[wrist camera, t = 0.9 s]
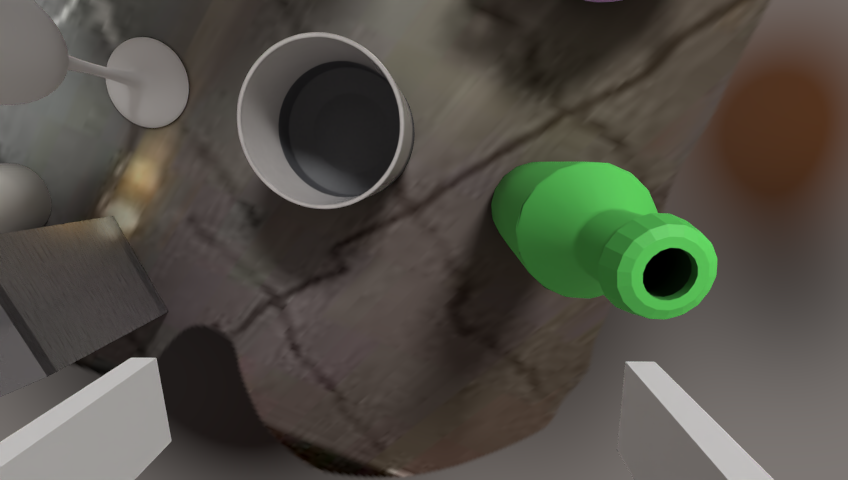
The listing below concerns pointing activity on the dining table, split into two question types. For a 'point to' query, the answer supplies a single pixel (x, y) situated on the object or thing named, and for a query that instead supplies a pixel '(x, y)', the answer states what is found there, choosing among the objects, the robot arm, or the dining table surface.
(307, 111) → the planter
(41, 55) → the wineglass
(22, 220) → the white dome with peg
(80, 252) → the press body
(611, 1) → the teapot
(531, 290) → the dining table surface
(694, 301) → the bottle
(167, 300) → the dining table surface
